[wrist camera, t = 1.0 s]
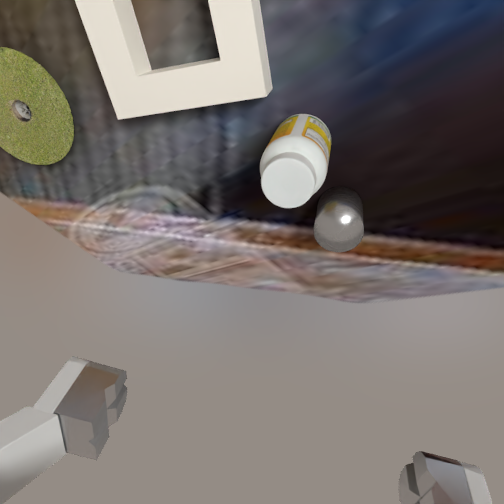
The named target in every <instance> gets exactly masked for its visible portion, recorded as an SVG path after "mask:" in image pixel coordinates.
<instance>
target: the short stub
mask: <svg viewBox="0 0 504 504" xmlns="http://www.w3.org/2000/svg"><path fill="white" fill-rule="evenodd" d="M363 234H364V226H363V205H362V200H361V197H360V196H359V194H358V193H357V192H356V191H354V190H353V189H351V188H348V187H343V186H338V187H333V188H330V189H328V190H327V191H325V192H324V193H323V194H322V195H321V197H320V199H319V201H318V206H317V212H316V219H315V225H314V236H315V239H316V241H317V242H318V243H319V245H320V246H322V247H323V248H325V249H327V250H329V251H332V252H345V251H349V250H351V249H353V248H355V247H356V246H357V245H358V244H359V243H360V242H361V240H362V238H363Z"/></svg>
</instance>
